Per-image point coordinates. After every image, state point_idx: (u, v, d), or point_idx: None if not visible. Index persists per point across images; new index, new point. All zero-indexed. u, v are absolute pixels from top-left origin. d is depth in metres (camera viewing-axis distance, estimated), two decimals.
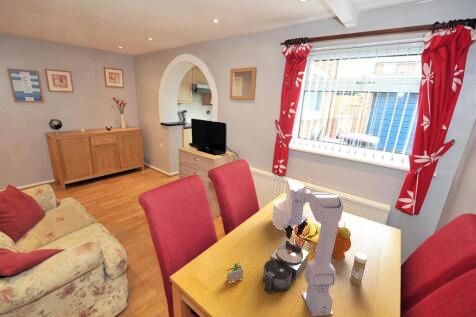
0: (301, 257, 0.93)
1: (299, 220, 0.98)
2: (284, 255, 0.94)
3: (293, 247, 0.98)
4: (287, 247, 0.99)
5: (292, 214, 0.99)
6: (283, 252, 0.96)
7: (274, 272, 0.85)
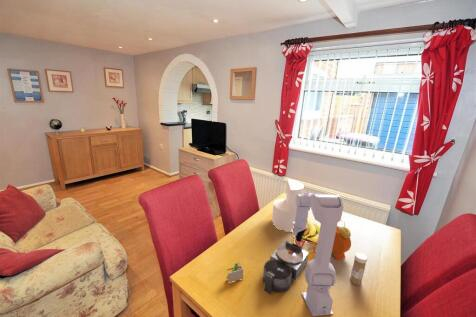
0: (301, 257, 0.93)
1: (305, 225, 0.99)
2: (284, 255, 0.94)
3: (293, 247, 0.98)
4: (287, 247, 0.99)
5: (299, 220, 0.98)
6: (283, 252, 0.96)
7: (274, 272, 0.85)
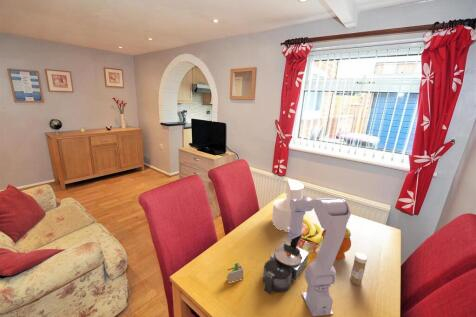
0: (299, 259, 0.92)
1: (300, 231, 0.94)
2: (282, 257, 0.92)
3: (292, 249, 0.97)
4: (285, 249, 0.98)
5: (293, 226, 0.93)
6: (281, 254, 0.94)
7: (274, 272, 0.85)
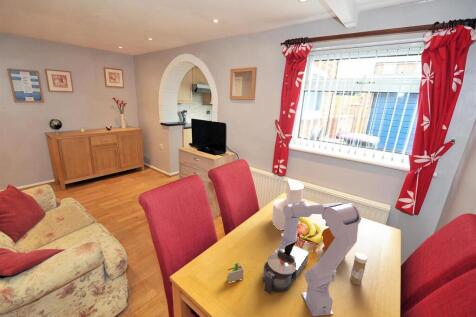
0: (294, 268, 0.87)
1: (295, 237, 0.89)
2: (275, 265, 0.88)
3: (286, 256, 0.92)
4: (279, 256, 0.93)
5: (287, 232, 0.89)
6: (275, 262, 0.90)
7: (274, 272, 0.85)
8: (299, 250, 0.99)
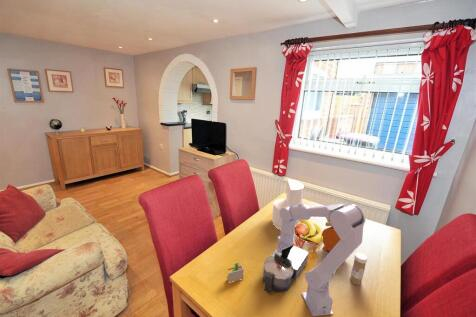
0: (290, 272, 0.84)
1: (292, 240, 0.87)
2: (272, 270, 0.85)
3: (283, 260, 0.90)
4: (276, 260, 0.91)
5: (284, 235, 0.86)
6: (271, 266, 0.87)
7: None
8: (299, 250, 0.99)
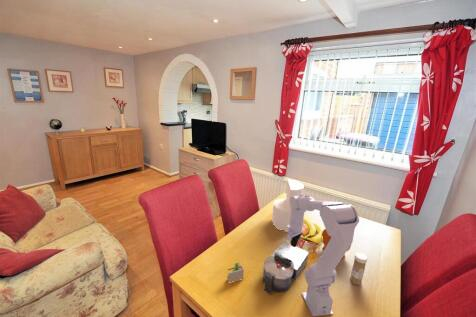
0: (290, 272, 0.84)
1: (301, 228, 0.91)
2: (272, 270, 0.85)
3: (283, 260, 0.90)
4: (276, 260, 0.91)
5: (294, 224, 0.90)
6: (271, 266, 0.87)
7: None
8: (299, 250, 0.99)
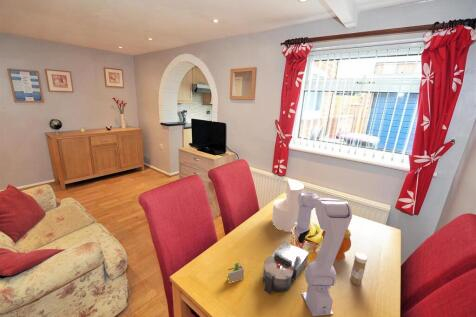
0: (290, 272, 0.84)
1: (308, 225, 0.94)
2: (272, 270, 0.85)
3: (283, 260, 0.90)
4: (276, 260, 0.91)
5: (301, 221, 0.93)
6: (271, 266, 0.87)
7: None
8: (299, 250, 0.99)
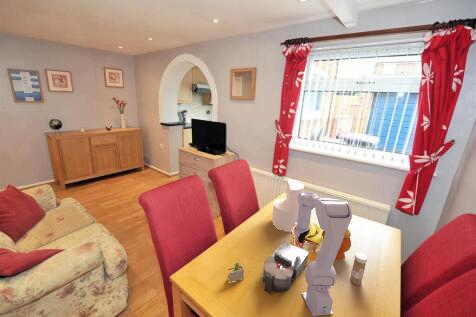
0: (290, 272, 0.84)
1: (308, 225, 0.94)
2: (272, 270, 0.85)
3: (283, 260, 0.90)
4: (276, 260, 0.91)
5: (301, 221, 0.93)
6: (271, 266, 0.87)
7: None
8: (299, 250, 0.99)
